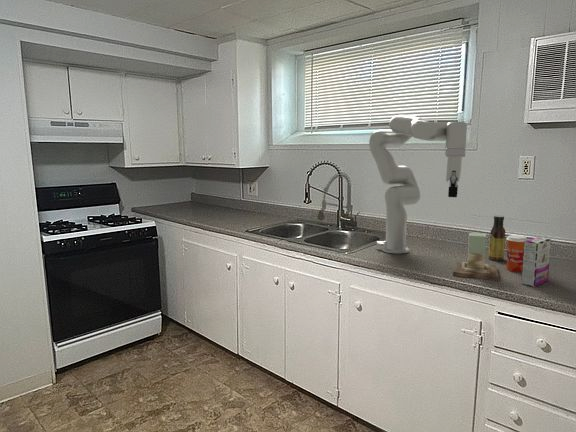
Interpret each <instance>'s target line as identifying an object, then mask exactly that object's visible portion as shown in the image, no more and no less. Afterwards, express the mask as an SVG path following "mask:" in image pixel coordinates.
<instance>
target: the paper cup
mask: <svg viewBox="0 0 576 432" xmlns="http://www.w3.org/2000/svg"><path fill="white" fill-rule="evenodd" d="M505 240H506V270H507V271H509V272H514V273H522V269H523V254H524V241H526V240H528V237H527V236H525V235H518V234H509V235H508V236H507V237H505Z"/></svg>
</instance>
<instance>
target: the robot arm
mask: <svg viewBox="0 0 576 432" xmlns="http://www.w3.org/2000/svg"><path fill="white" fill-rule="evenodd" d="M388 125H389V129H379V130H375V131H373V132H372V133H371V135H370V136H369V141H368V143H369V144H368V145H369V146H368V147H369V151H370V152H371V156H372V157H373V159H374V161H375V164H376V168H377V170H378V173H379V175H380V177H381V180H382V183H383V184H384V185H386V186H390V187H389V188H387V189H386V191H385V193H384V201H385V208H386V210H385V211H386V217H385V218H386V220H385V221H386V225H385V240H384V241H379V240H378V241H376V245H377V246H379V247H382V252H384V253H388V254H396V255H401V254H402V255H403V254H407V253H409V251H410V248H409V247H406V246H407V223H408V221H407V218H408V215H407V211H406V209H405V206H412V205H415V204H417V203H419V201H420V198H421V191H420V187H419V185H418V183H417V180H416V177H415V174H414V173H413V170H412V169H411V168H410V167H409V166H407V165H398V164H397V163H396V162H395V159H394V157H393V155H392V153H391V152H390V151H389V150H388V149H387V148H400V147H403V146H404V145H405V144H407V142H408V141H409V140H411V138H414V139H417V140H423V141H427V142H428V141H430V142H432V141H433V142H434V141H435V142H437V141H438V142H445V150H444V152H445V153H444V157H445V158H447V162H446V175H445V176H446V177H445V181H446V183H447V182H449V187H448V193H447V194H448V195H447V197H449V198H457V197H458V189H459V185H458V183H459V182H460V179H461V173H462V172H461V171H462V163H463V162H462V161H463V158H465V157H466V151H467V136H468V135H467V132H468V124H467V122H466V121H450V122H448V121H447V122H445V121H443V122H441V121H427V120H426V121H424V119H422V118H421V117H417V116H415V115H410V114H408V115H406V114H398V115H395V116H393V117H392V118H391V119H390V120H389V122H388Z"/></svg>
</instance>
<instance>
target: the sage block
mask: <svg viewBox="0 0 576 432" xmlns="http://www.w3.org/2000/svg"><path fill="white" fill-rule="evenodd" d="M486 244H487V234H486V233H484V232H483V233H479V232H469V233H468V245H467V247H468V249H467V254H468V253H477V254H485V255H486V249H487V248H486V246H487V245H486Z"/></svg>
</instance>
